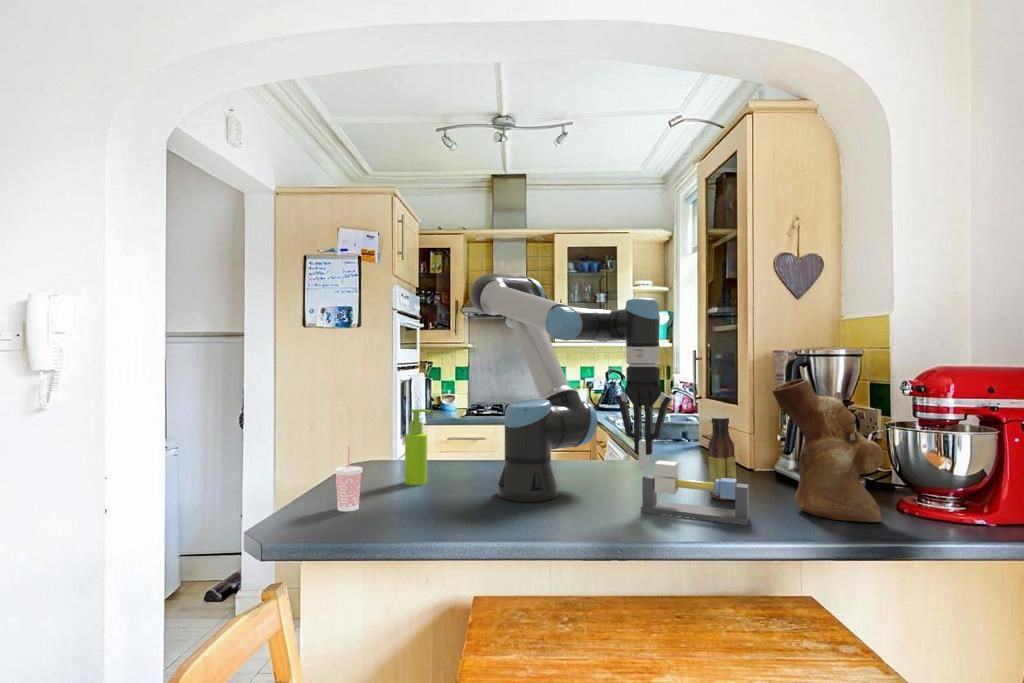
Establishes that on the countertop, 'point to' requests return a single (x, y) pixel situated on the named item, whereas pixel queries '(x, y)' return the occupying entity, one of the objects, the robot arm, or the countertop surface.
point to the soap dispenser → (416, 452)
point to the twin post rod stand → (721, 488)
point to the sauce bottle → (721, 453)
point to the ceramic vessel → (830, 455)
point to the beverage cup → (348, 486)
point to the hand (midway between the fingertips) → (643, 468)
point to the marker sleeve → (666, 477)
